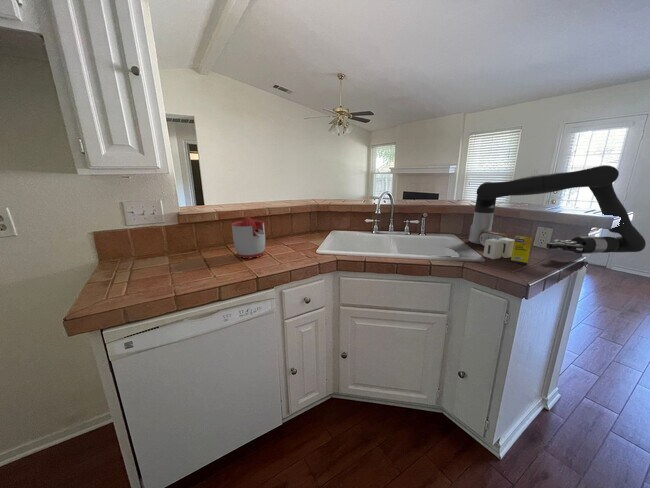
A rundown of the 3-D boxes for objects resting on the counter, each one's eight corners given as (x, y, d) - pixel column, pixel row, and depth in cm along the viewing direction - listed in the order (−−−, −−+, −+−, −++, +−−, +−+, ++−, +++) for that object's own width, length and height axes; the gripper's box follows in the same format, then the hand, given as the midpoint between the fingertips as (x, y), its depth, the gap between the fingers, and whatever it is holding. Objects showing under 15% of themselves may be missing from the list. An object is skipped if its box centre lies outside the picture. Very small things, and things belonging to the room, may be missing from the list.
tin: (510, 251, 129) (513, 234, 126) (507, 252, 127) (510, 235, 125) (479, 244, 141) (481, 229, 139) (476, 245, 139) (478, 230, 137)
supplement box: (527, 264, 110) (532, 240, 107) (510, 262, 113) (514, 238, 110) (527, 260, 114) (532, 237, 111) (510, 258, 118) (515, 235, 115)
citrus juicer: (250, 263, 116) (245, 220, 111) (228, 257, 127) (223, 217, 121) (276, 255, 128) (273, 215, 123) (254, 249, 139) (250, 212, 133)
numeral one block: (482, 256, 122) (485, 239, 119) (490, 254, 123) (493, 238, 121) (492, 259, 117) (495, 242, 115) (500, 257, 119) (503, 241, 117)
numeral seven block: (495, 254, 123) (498, 238, 121) (503, 253, 125) (506, 237, 122) (505, 258, 118) (508, 241, 116) (513, 256, 120) (516, 240, 118)
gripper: (575, 233, 117) (537, 234, 117) (606, 240, 104) (563, 241, 104) (572, 249, 119) (534, 249, 119) (601, 257, 106) (559, 258, 106)
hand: (548, 245), depth 111 cm, fingers closed
